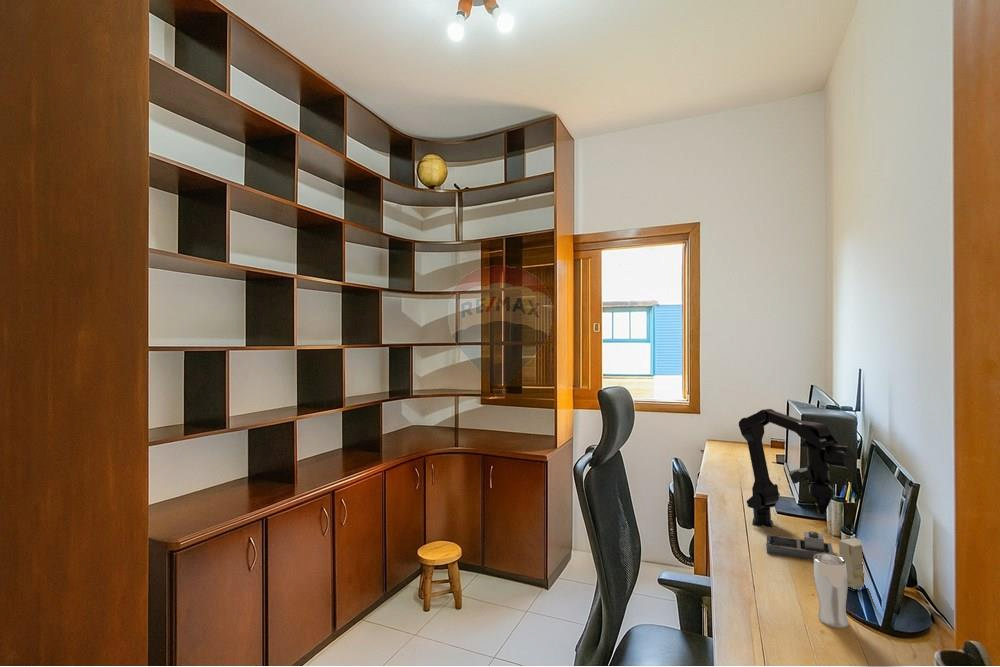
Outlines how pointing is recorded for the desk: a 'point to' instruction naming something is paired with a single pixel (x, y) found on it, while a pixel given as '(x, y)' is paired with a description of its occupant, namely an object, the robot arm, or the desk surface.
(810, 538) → the knobbed drawer box
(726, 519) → the desk surface
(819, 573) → the beer glass
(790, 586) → the desk surface
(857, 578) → the skincare box
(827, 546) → the two-cubby grey shelf
